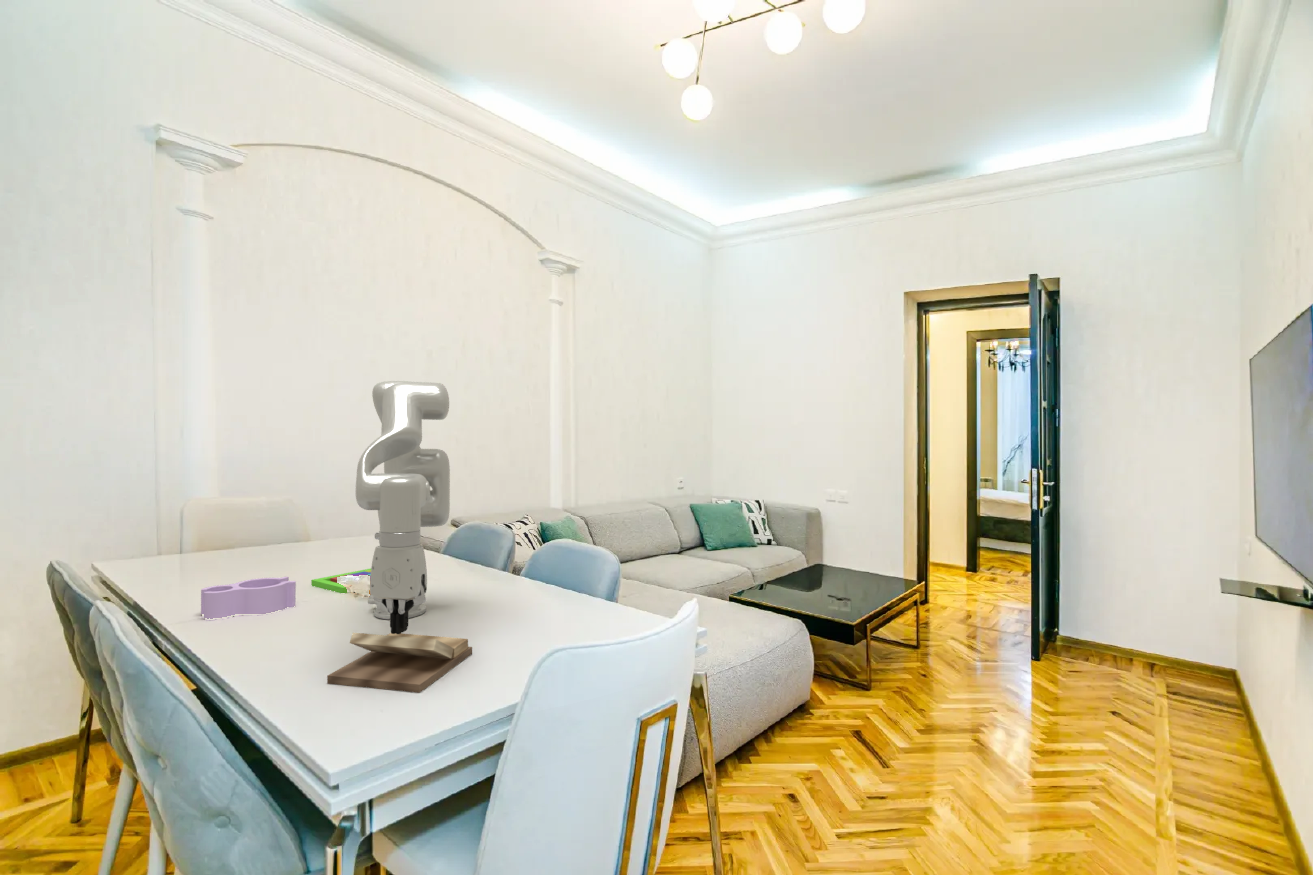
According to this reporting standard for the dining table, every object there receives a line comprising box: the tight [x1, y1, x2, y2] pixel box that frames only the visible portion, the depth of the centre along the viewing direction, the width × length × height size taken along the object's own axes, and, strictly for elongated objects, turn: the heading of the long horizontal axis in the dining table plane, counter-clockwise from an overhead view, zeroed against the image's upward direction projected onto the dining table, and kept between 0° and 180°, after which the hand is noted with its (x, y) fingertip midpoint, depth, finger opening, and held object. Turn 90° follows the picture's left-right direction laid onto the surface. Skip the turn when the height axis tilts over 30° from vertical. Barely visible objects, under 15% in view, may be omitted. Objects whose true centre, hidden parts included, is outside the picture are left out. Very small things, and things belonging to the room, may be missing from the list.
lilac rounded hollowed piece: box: [200, 576, 297, 619], centre depth 169 cm, size 20×12×7 cm, turn 134°
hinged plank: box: [349, 632, 454, 658], centre depth 132 cm, size 18×8×2 cm, turn 80°
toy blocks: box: [310, 567, 371, 595], centre depth 199 cm, size 23×2×25 cm
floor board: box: [326, 632, 473, 694], centre depth 132 cm, size 19×21×4 cm
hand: (399, 631), depth 130 cm, fingers closed
